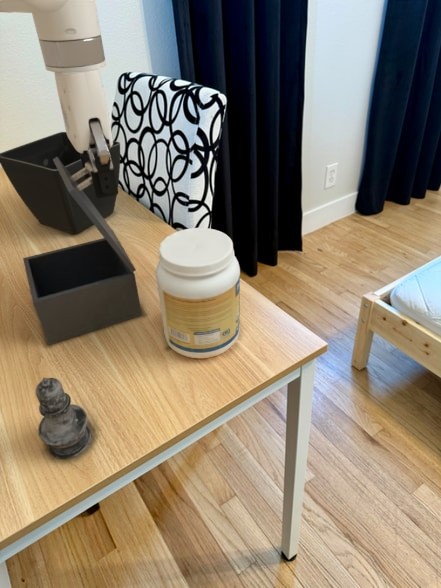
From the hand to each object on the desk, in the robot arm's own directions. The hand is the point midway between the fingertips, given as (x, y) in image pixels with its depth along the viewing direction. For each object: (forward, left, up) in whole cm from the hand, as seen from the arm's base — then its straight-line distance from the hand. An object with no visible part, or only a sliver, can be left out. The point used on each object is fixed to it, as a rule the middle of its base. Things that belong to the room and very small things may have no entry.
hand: (101, 185), depth 65 cm
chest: (-7, 0, -21) cm, 22 cm away
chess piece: (-15, -26, -22) cm, 37 cm away
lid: (-2, 0, -5) cm, 5 cm away
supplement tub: (+8, -16, -22) cm, 28 cm away
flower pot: (-2, +35, -22) cm, 41 cm away
